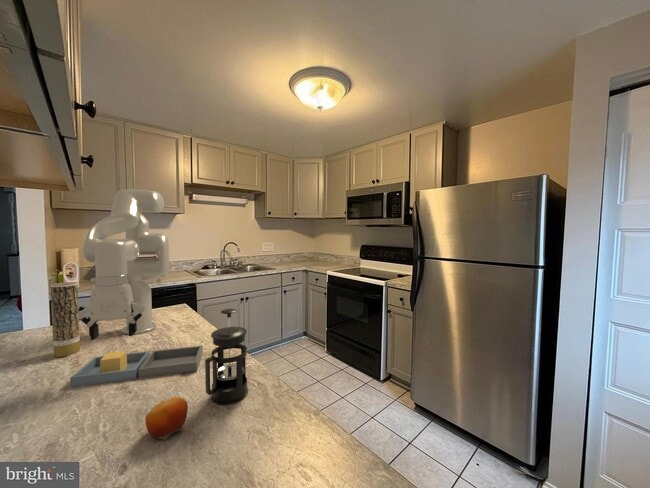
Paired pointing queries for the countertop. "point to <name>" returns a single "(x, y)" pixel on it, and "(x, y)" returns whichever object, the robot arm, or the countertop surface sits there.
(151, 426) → the fruit
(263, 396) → the countertop surface
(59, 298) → the paper tube
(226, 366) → the french press
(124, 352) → the ochre block
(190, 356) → the charcoal tray
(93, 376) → the slate-blue tray
